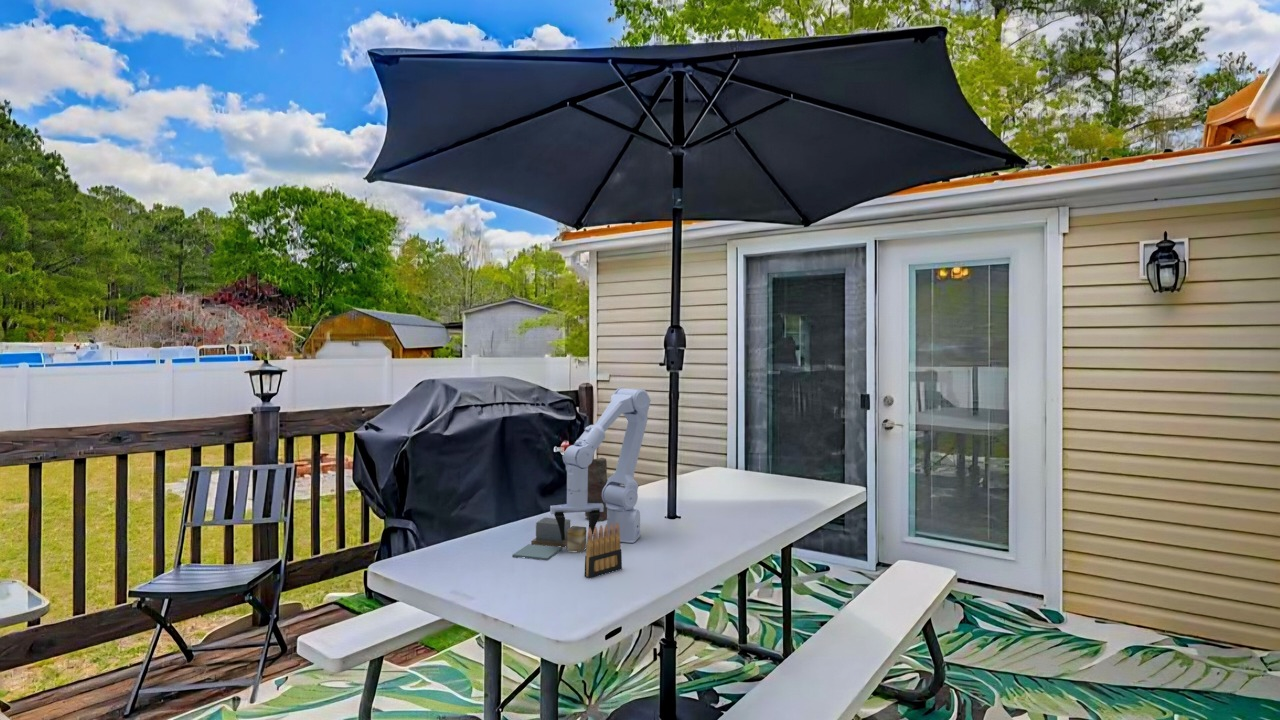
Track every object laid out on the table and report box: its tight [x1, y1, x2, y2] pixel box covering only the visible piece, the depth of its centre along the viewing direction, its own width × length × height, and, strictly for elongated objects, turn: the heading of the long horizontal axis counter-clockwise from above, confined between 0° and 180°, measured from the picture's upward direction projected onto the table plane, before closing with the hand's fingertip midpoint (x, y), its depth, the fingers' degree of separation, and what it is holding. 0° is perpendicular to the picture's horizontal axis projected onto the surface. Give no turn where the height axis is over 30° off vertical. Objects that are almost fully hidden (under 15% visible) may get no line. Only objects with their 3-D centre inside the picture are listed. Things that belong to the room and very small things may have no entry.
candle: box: [584, 457, 608, 522], centre depth 220 cm, size 8×7×20 cm
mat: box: [512, 543, 563, 561], centre depth 182 cm, size 10×10×1 cm
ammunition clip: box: [583, 522, 623, 579], centre depth 167 cm, size 11×2×12 cm, turn 133°
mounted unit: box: [530, 517, 571, 548], centre depth 193 cm, size 10×8×6 cm
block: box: [566, 525, 587, 553], centre depth 186 cm, size 4×4×6 cm
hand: (576, 538), depth 186 cm, fingers open, 7 cm apart
